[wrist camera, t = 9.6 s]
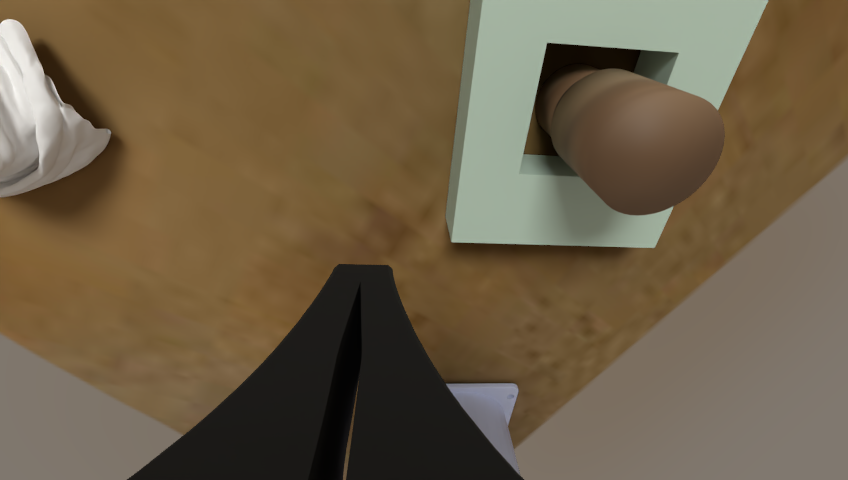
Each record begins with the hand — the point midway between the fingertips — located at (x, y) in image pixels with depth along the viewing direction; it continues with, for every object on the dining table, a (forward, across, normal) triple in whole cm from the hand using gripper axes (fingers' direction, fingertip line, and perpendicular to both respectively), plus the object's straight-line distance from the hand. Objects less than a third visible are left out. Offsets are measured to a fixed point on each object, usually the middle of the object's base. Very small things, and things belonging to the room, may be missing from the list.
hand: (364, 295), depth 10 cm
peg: (+10, -9, -3) cm, 13 cm away
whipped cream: (+10, +15, -1) cm, 19 cm away
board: (+10, -8, -3) cm, 13 cm away
